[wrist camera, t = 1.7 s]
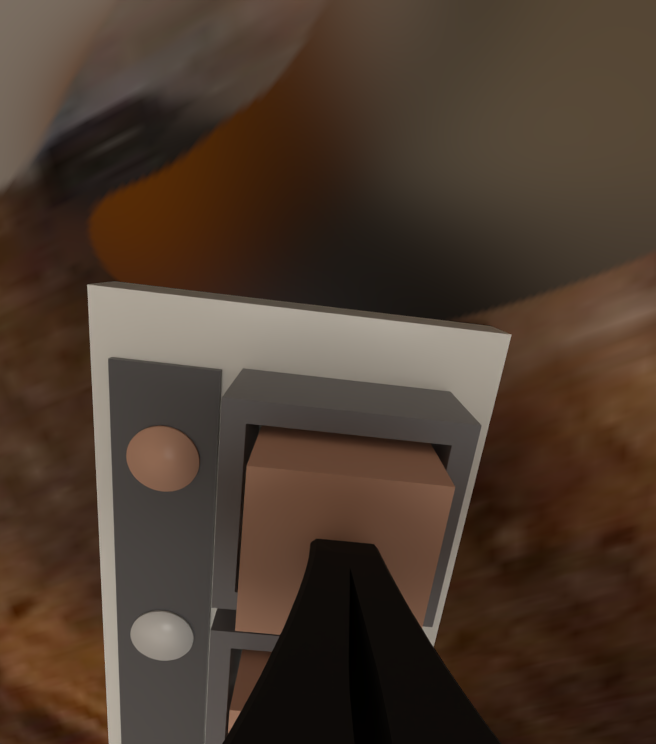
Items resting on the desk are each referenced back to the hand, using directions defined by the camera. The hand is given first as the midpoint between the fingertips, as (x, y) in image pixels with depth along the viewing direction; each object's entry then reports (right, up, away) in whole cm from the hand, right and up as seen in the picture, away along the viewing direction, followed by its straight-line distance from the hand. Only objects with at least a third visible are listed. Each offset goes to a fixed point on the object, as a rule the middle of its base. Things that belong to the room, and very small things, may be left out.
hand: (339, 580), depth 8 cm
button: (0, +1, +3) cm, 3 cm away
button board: (-2, -5, +8) cm, 9 cm away
